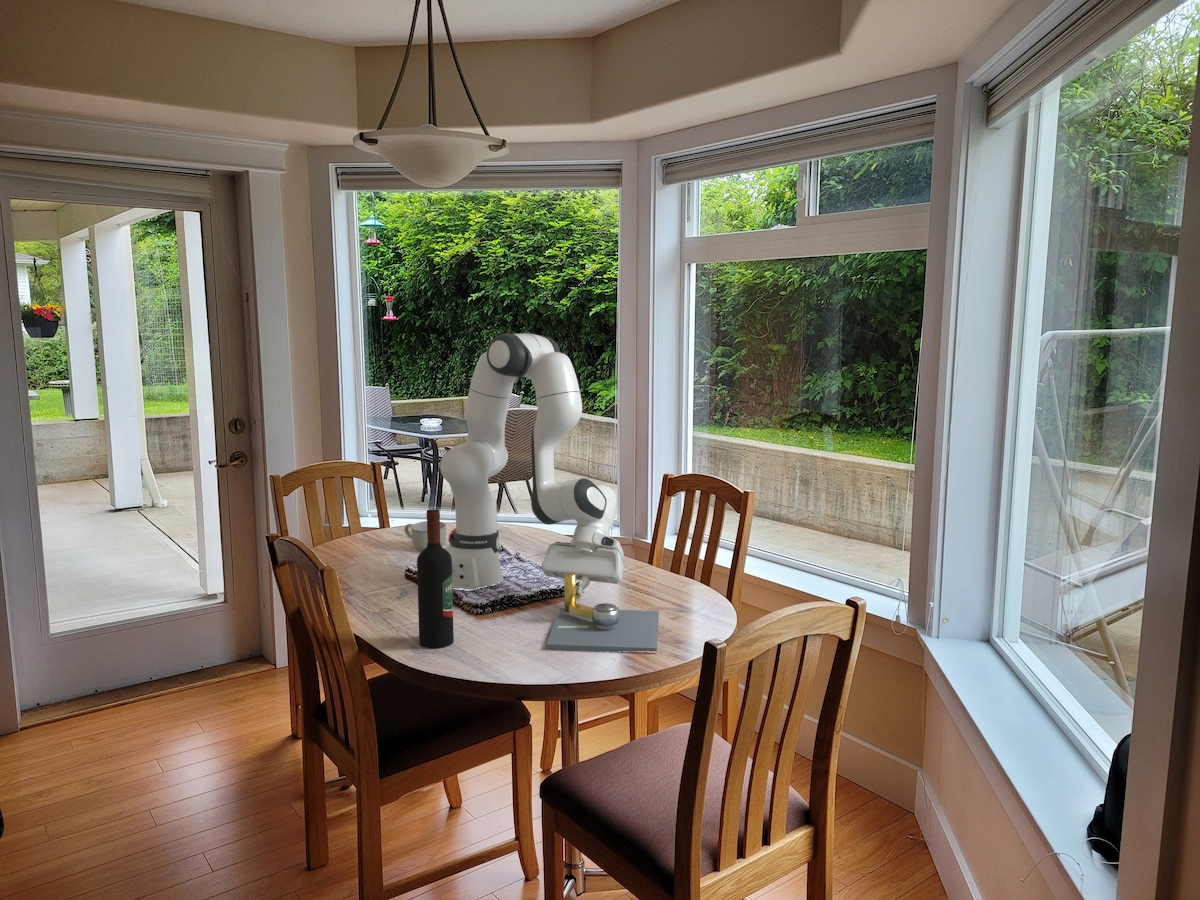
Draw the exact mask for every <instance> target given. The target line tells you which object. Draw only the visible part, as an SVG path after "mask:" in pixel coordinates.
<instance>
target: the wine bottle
mask: <svg viewBox="0 0 1200 900" xmlns="http://www.w3.org/2000/svg"><path fill="white" fill-rule="evenodd" d="M440 519H441V513H440V509H435V508H433V509H428V510H426V521H427V539H428V543H427V547H426V548H425V549H424V550H423V551H420V553H419V554H418V555H417V558H416V570H417V571H416V573H417V574H416V575H417V576H416V578H417V580H416V581H417V605H418V606H417V609H418V639H419V641H418V644H419V646H420V647H421V648H422V647H423V648H424V649H433V650H434V649H442V648H447V647H449V646H451V645H452V644H453V643H454V640H455V639H454V638H455V637H454V602H453V601H454V593H453V591H454V590H452V559H451V555H450V554H449V552H448V551H447V550H445V548H444V547H443V546H441V543H440V522H441V520H440Z"/></svg>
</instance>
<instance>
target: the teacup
mask: <svg viewBox="0 0 1200 900" xmlns="http://www.w3.org/2000/svg"><path fill="white" fill-rule="evenodd" d="M446 527H447V524H446V523H445V522H442V521H440V543H441V546H442V547H443V546H445V544H446V541H447V540H446V539H447V530H446V529H447V528H446ZM409 528H410V529H411V531H410V530H409ZM404 534H405V535H406V536H407V537H408V538H409V539H410V540H411V542H412V545H413V547H415V549H417V550H418V551H420V552H422V551H423V550H424V549H425V548H426V547H427V543H428V539H427V520H426V521H425V520H424V521H420V522H415V523H407V524H406V525H405V527H404Z"/></svg>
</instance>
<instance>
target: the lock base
mask: <svg viewBox="0 0 1200 900" xmlns="http://www.w3.org/2000/svg"><path fill="white" fill-rule="evenodd" d="M659 616H660V615H659V610H642V609H641V610H638V609H636V610H635V609H634V610H633V609H619V622H618V623H617V624H615V625H611V626H600V625H596V624H594V623H593V620H591V619H588V618H585V617H581V616H578V615H575V614H571V613H567V612H565V611H564V607H561V608H560V609H559V611H558V614H557V616H556V619H555V621H554V624H553V627H552V629H551V632H550V634H549V636H548V639H547V642H546V648H545V649H546V650H550V651H573V652H574V651H577V652H578V651H580V652H600V651H603V652H602V653H605V652H606V651H609V652H608V653H619V652H618V651H621V652H620V653H624V652H623V651H630V652H631V651H651V652H652V651H657V650H658V636H657V634H658V632H659ZM614 651H615V652H614ZM657 652H658V651H657ZM606 653H607V652H606Z"/></svg>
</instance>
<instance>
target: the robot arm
mask: <svg viewBox="0 0 1200 900" xmlns="http://www.w3.org/2000/svg"><path fill="white" fill-rule="evenodd" d="M560 350H561V349H560V347H559V344H557V342H556V341H554V340H553V339H552V338H551V337H548V336H546V335H542V334H534V333H526V332H523V333H512V332H511V333H509V332H508V333H507V332H506V333H501V334H499V335H498V334H497V335H496V336H495V337H494V338H492V339H491V340H490V342H489V343H488V345H487V348H486V351H485V352H483V353H482V354H480V357H479V359H478V361H477V363H476V366H475V367H474V372H473V374H472V378H471V380H470V386H469V390H468V395H467V398H466V404H465V409H464V413H463V414H464V415H463V416H464V419H465V421H466V423H467V439H466V441H465V442H463V443H460V444H457V445H455V446H452V448H450V449H448V450H447V451H446V453H444V455H443V456H442V458H441V460H440V464H439V469H440V473H441V475H442V477H443V479H444V480H445V481H446V482H447V483H448V484H449V486H450V487H449V488H450V489H451V493H452V497H453V501H454V507H455V528H453V529H452V530H451V531H450V533H449V534H448V535H449V536H448V537H447V538H448V542H449V545H447V546H445V548H444V549H445V550H447V551H448V552H449V554H450V555H451V559H452V587H454V588H463V589H476V588H478V587H485V586H490V585H493V584H496V583H498V582H501V581H502V580H503V578H504V575H503V572H502V568H501V564H500V556H499V550H500V534H499V529H498V517H497V516H498V515H497V514H498V512H497V509H498V507H497V502H496V500H495V499H494V498H493V496H492V493H491V491H490V486H489V478H492V477H494V476H497V475H498V474H499V473H500V472H501V471H502V470H503V469H504V468H505V466H506V465H507V464H508V460H509V452H508V450H507V447H506V441H505V439H506V435H505V434H506V432H505V431H506V423H507V422H506V420H507V416H508V413H509V412H508V410H509V406H510V402H511V398H512V392H513V387H514V384H515V382H516V380H517V379H518V378H528V379H530V380H531V382H532V383H533V384H532V385H533V387H534V390H535V392H534V393H535V397H536V404H537V413H536V420H535V423H534V424H533V427H532V429H531V437H530V439H531V441H530V448H531V450H530V451H531V471H532V472H531V476H532V492H531V500H530V506H531V511H532V513H533V515H534V516H535V517H536V519H538V520H539V521H540V522H541V523H542V524H544V525H549V526H550V525H555V524H558V523H561V522H564V521H570V520H575V521H576V522H577V525H576V527H575V529H574V532H573V535H572V539H571V541H570V542H568V541H567V542H561V541H555V542H553V543H551V544H549V545H548V548H547V551H546V554H545V557H544V559H543V561H542V563H541V568H540V569H541V570H542V572H543V574H544V575H545V576H546V577H548V578H549V577H550V578H558V579H559V578H561V579H564V574H565V573H575V574H576V581H577V580H578V581H582V582H580V584H579V585H576V596H578V597H579V596H580V597H582V595H583V592H584V590H585V589H586V588H587V587H588V586H589V585H590V583H591V582H596V583H605V584H606V583H607V584H613V585H618V584H619V583H620V582H621V581H622V578H623V573H624V561H623V559H624V555H625V553H624V551H623V548H622V545H621V543H620V542H619V541H618V540H617V539H615V538H613V537H610V530H611V529H612V527H613V525H614V521H615V519H616V515H617V514H616V513H617V507H618V506H617V505H618V498H617V494H616V492H615V491H614V490H613V488H611V487H609V486H608V485H606V484H602V483H601V484H600V483H599V484H598V483H596V484H595V483H594V482H593V481H592V480H590V479H588V478H585V477H583V478H576V479H571V480H567V481H561V482H558V483H557V482H556V478H555V460H554V459H555V456H554V454H555V449H556V445H557V444H558V443H559V441H560V440H561V439H562V438H564V436H565V435H566V434H568V433H570V432H571V431H572V430H573V429H574V428H575V427H576V426H577V425H578V423H579V421H580V420H581V418H582V416H583V415H582V414H583V401H582V397H581V396H582V395H581V390H580V386H579V381H578V378H577V374H576V372H575V369H574V366H573V363H572V361H571V359H570V358H569V356H568V355H567V354H565V353H563V352H561V351H560Z"/></svg>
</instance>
